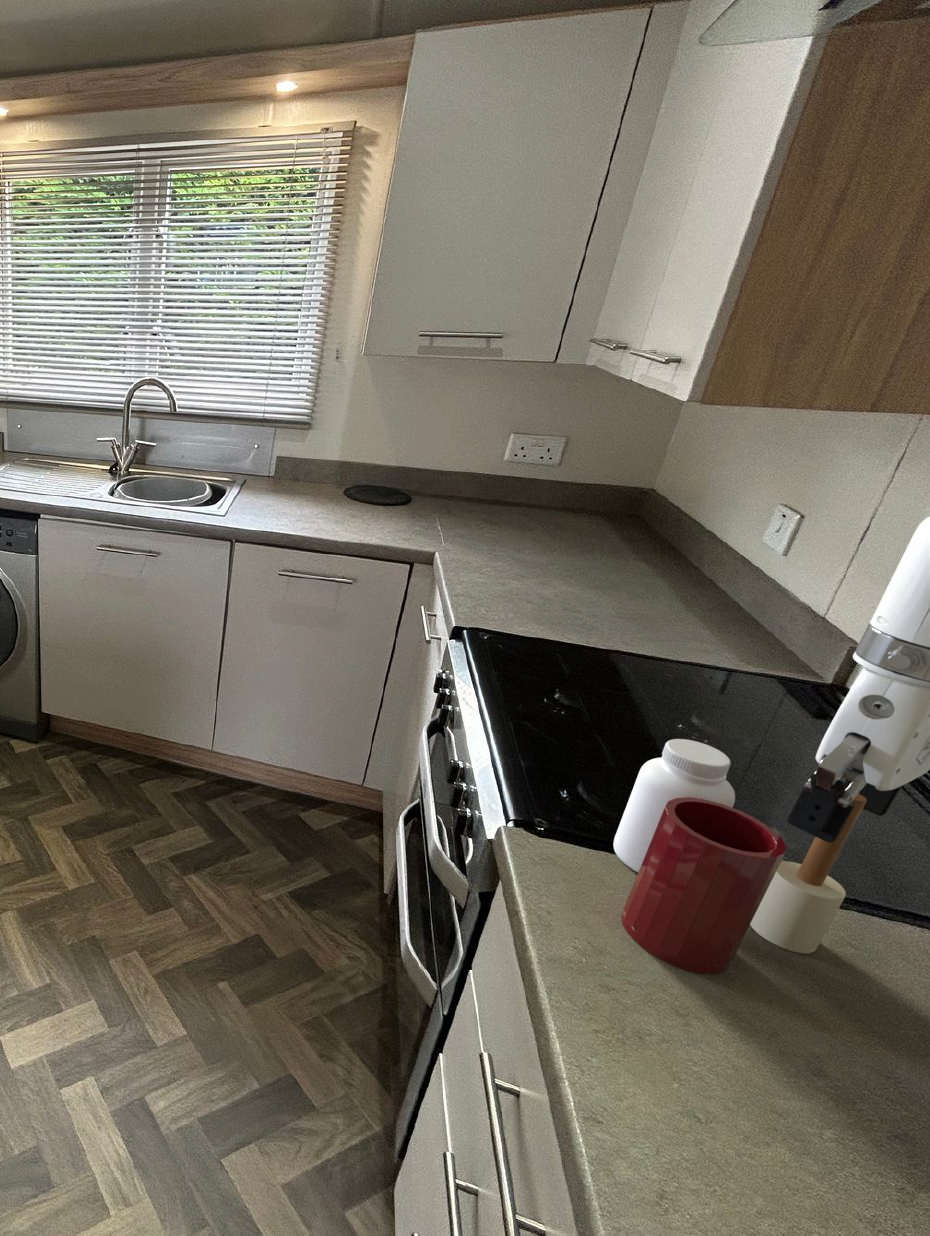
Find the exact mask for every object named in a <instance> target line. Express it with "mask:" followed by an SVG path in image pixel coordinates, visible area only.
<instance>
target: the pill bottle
mask: <svg viewBox="0 0 930 1236" xmlns="http://www.w3.org/2000/svg"><path fill="white" fill-rule="evenodd" d="M661 755H662V756H661V757H655V758H652V759H650V760H647V761H646V762H644V764H643V765H642V766H641V767H640V769H639V772H638V774H637V777H636V779H635V782H634V785H633V788H632V790H631V793H630V795H629V797H628V801H627V803H626V807H625V809H624V811H623V814H622V817H621V819H620V822H619V825H618V828H617V830H616V833H615V835H614V839H613V842H612V843H613V844H612V845H613V850H614V853H615V854H616V856H617V857H618V859H619V860H620V861H621V862H623V864H624V865H625V866H627V867H629V868H630V869H631V870H632V871H635V872H637V873H638V872H639V870H640V867H641V865H642V862H643V860H644V857H645V855H646V852H647V850H648V847H649V845H650V843H651V840H652V838H653V835H654V833H655V830H656V828H657V825H658V823H659V820H660V818H661V815H662V813H663V811H664V808H665V806H666V804H667V802H668V801H670V800H672V799H674V798H682V797H692V798H700V799H705V800H709V801H713V802H717V803H720V804H724V805H726V806H729V807H732V808H734V805H735V802H736V792H735V790H734V788H733V786H732V785H731V783H730V782H729V781H728V780H727V774H728V772H729V769H730V767H731V765H732V764H731V763H732V762H731V759H730V758H729V756H728V755H726V754H725V752H723V751H721V750H719V749H717V748H715V747H713V746H712V745H709V744H706V743H703V742H699V741H696V740H693V739H692V740H691V739H685V738H673V739H670V740H668V741H667V742H665V743H664V747H663V749H662V752H661Z"/></svg>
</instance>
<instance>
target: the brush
mask: <svg viewBox="0 0 930 1236" xmlns="http://www.w3.org/2000/svg"><path fill="white" fill-rule="evenodd" d="M866 802H867V799H866V798H865V797H864V796H862V795H860V794H857V796H856V797H855V798H854V799H853V800H852V802H851V803H850V804H849V805H852V806H854V809H853V810H852V812H851V814H850V816H849V818H848V820H847V821H846V823H845V825H844V827H843V829H842V830H841V832H840V834H839V836H838V838H837V839H836V840H835V841H834V842H831V843H829V842H826V841H824V840H822V839H820V838H817V837H815V836H814V839H813V842H811V845H810V847H809V849H808V851H807V853H806V854H805V856H804V859H803V860H802V863H798V862H794V861H783V860H782V861H781V863H780V865H779V867H778V869H777V871H776V873H775V875H774V877H773V879H772V881H771V883H770V885H769V887H768V889H767V891H766V893H765V895H764V897H763V899H762V901H761V903H760V905H759V907H758V909H757V911H756V913H755V915H754V917H753V919H752V921H751V923H750V925H749V926H750V928H752V929H753V930H754V932H756V934H758V935H759V936H760V937H762V939H765V940H767V942H769V943H771V944H773V945H775V946H778V947H780V948H782V949H785V950H787V951H790V952H793V953H798V954H805V955H806V954H812V953H815V952H816V950H817V949H818V947H819V945H820V943H821V942H822V940H823V938H824V936H825V934H826V933H827V931H828V929H829V927H830V925H831V924H832V921H833V920H834V918H835V916H836V915H837V913H838V910H839V909H840V907H841V905H842V903H843V902H844V900H845V899H846V896H847V893H846V890H845V888H844V887H843V886H842V885H841V884H840V883H839V882H838V881H837V880H836V879H833V878H832V877H831V876H829V873H830V872H831V870H832V868H833V866H834V864H835V862H836V861H837V858H838V856H839V855H840V853H841V852H842V851H841V850H842V849H843V847H844V846H845V843H846V842H847V840H848V838H849V835H850V834H851V832H852V830H853V828H854V826H855V824H856V822H857V821H858V818H859V817H860V816H861V813H862V811H863V810H864V809H863V807H864V805H865V804H866Z"/></svg>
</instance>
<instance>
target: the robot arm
mask: <svg viewBox="0 0 930 1236" xmlns="http://www.w3.org/2000/svg"><path fill="white" fill-rule="evenodd" d="M852 659H853V660H854V662H856V663H857V664H858V665H860V666H862V667H863V668H862V670H861V671H860V673H859V675H858V676H857V678H856V679H855V681H854V683H853V684H852V685H851V686H849V687H850V688H849V691H848V692H847V694H846V696H845V698H844V699H843V701H842V702H841V704H840V706H839V708H838V709H837V711H836V713H835V715H834V716H833V718H832V721H831V723H830V724H829V726H828V728H827V730H826V732H825V734H824V736H823V738H822V740H821V742H820V744H819V747H818V749H817V751H816V754H815V761H816V762H817V764H818V765H817V768H816V771H815V772H813V773H812V774H811V775H810V776H809V777H810V778H809V779H808V781H806V783H805V784H804V786H803V788H802V790H801V792H800V794H799V796H798V797H797V799H796V801H795V804H794V806H793V807H792V810H791V812H790V814H789V815H788V817H787V823H788V824H789V825H791V826H793V827H794V828H797V829H799V830H801V831H803V832H805V833H807V834H809V835H812V836H813V837H814V838H815V837H817V838H820V839H822V840H824V841H826V842H829V843H831V842H834V841H835V840H836V839H837V838H838V836H839V834H840V832H841V830H842V829H843V827H844V825H845V823H846V821H847V820H848V818H849V816H850V814H851V812H852V810H853V809H854V806H852V805H849V804H850V803H851V802H852V800H853V799H854V798H855V797H856V796H857V794H860V795H862V796H864V797H865V798H866V799H867V802H866V804H865V805H864V807H863V809H862V810H864V811H866V812H869V813H871V814H873V815H875V816H878V817H880V816H884V815H886V814H887V813H888V811H889V810H890V808H891V806H892V804H893V802H894V801H895V799H896V797H897V796H898V794H899V791H900V790H901V789H902V787H903V786H904V785H906V784H908V783H910V782H912V781H914V780H916V779H918V778H920V777H921V776H923V775H925V774H927V772H928V771H930V515H929V516H927V517H926V518H924V520H922V521H921V522H920V523H919V525H918V527H917V528H916V530H915V531H914V533H913V534H912V537H911V539H910V541H909V543H908V545H907V547H906V549H905V551H904V553H903V555H902V557H901V559H900V561H899V563H898V565H897V567H896V568H895V571H894V573H893V575H892V577H891V579H890V581H889V582H888V585H887V587H886V589H885V591H884V593H883V595H882V597H881V599H880V601H879V603H878V605H877V607H876V610H875V611H874V614H873V616H872V617H871V619H870V621H869V623H868V625H867V626H866V629H865V630H864V632H863V635H862V637H861V638H860V640H859V643H858V644H857V647H856V649H855V650H854V653H853V654H852ZM849 767H852V769H850V768H849ZM842 778H844V779H845V781H842V780H841V779H842Z"/></svg>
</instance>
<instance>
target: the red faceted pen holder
mask: <svg viewBox="0 0 930 1236" xmlns="http://www.w3.org/2000/svg"><path fill="white" fill-rule="evenodd" d="M786 851H787V844H786V842H785V841H784V839H783V838H782V837H781V836H780V835H779V833H777V831H775V830H774V829H773V828H771V827H770V826H768V825H767V824H765V823H764V822H762V821H761V820H759V819H757V818H756V817H754V816H752V815H750V814H747V813H746V812H744V811H742V810H739V809H737V808H734V807H729V806H726V805H724V804H720V803H717V802H713V801H709V800H705V799H700V798H692V797H682V798H674V799H672V800H670V801H668V802H667V804H666V806H665V808H664V811H663V813H662V815H661V818H660V820H659V823H658V825H657V828H656V830H655V833H654V835H653V838H652V840H651V843H650V845H649V847H648V850H647V852H646V855H645V857H644V860H643V862H642V865H641V867H640V870H639V872H637V875H636V878H635V880H634V882H633V885H632V887H631V890H630V892H629V894H628V896H627V897H628V898H627V899H626V902H625V905H624V907H623V909H622V913H621V917H620V919H621V923H622V926H623V928H624V929H625V931H626V933H627V934H628V935H629V936H630V937H631V939H633V941H635V942H636V944H638V945H639V946H640V947H641V948H642V949H644V950H645V951H647V952H648V953H650V954H652V955H653V956H654V957H656V958H657V959H660V960H662V961H663V962H665V963H668V964H669V965H672V966H674V967H676V968H679V969H682V970H685V971H688V972H691V973H696V974H702V975H717V974H721V973H723V972H725V971H726V970H727V969H729V967H730V965H731V962H732V961H733V960H734V958H735V956H736V954H737V951H738V950H739V948H740V945H741V943H742V941H743V939H744V937H745V935H746V933H747V931H748V930H749V927H750V926H751V925H750V923H751V921H752V919H753V917H754V915H755V913H756V911H757V909H758V907H759V905H760V903H761V901H762V899H763V897H764V895H765V893H766V891H767V889H768V887H769V885H770V883H771V881H772V879H773V877H774V875H775V873H776V871H777V869H778V867H779V865H780V863H781V862H782V861H783V858H784V857H785V854H786Z"/></svg>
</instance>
